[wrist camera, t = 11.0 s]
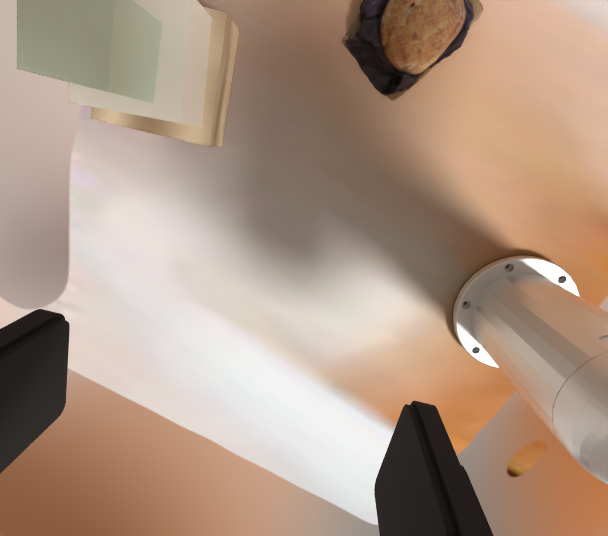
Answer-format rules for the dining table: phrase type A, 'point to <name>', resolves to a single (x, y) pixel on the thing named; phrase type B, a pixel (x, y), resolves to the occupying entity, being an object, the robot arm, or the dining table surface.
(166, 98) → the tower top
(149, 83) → the sage block
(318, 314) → the dining table surface
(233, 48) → the tower base
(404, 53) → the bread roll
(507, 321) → the robot arm
